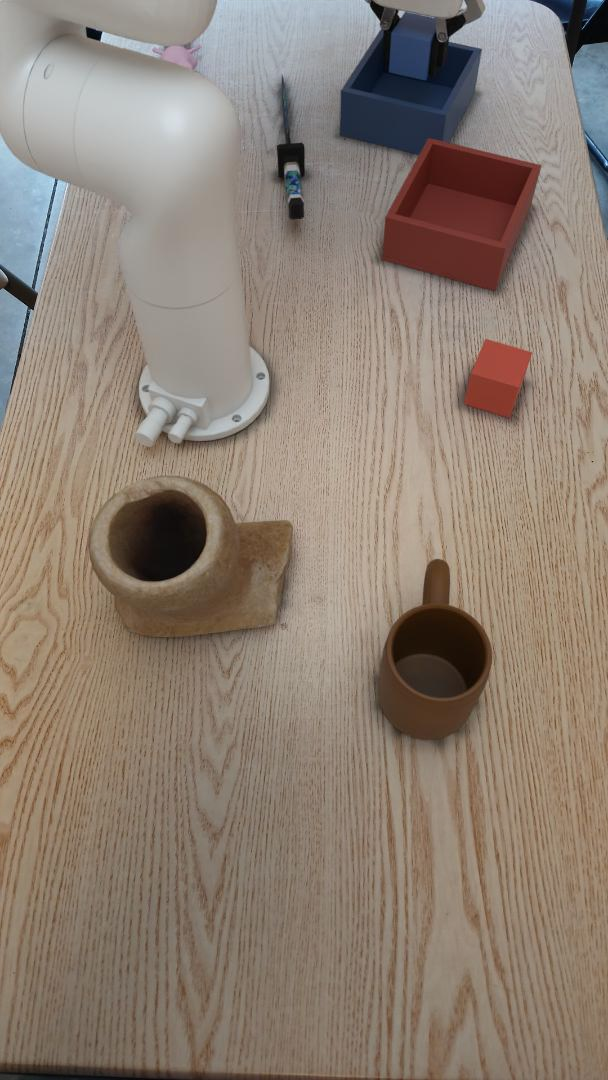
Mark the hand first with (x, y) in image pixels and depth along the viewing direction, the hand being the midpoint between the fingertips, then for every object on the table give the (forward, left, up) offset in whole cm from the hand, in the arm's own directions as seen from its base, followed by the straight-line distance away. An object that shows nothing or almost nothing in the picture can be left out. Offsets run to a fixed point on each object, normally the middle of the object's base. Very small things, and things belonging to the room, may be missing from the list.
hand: (413, 63), depth 96 cm
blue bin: (0, 0, -6) cm, 6 cm away
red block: (-38, -22, -6) cm, 44 cm away
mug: (-67, -25, -6) cm, 72 cm away
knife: (-13, +10, -6) cm, 18 cm away
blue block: (0, 0, 0) cm, 0 cm away
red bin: (-18, -12, -6) cm, 23 cm away
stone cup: (-68, -6, -6) cm, 69 cm away
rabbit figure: (-3, +30, -6) cm, 31 cm away
